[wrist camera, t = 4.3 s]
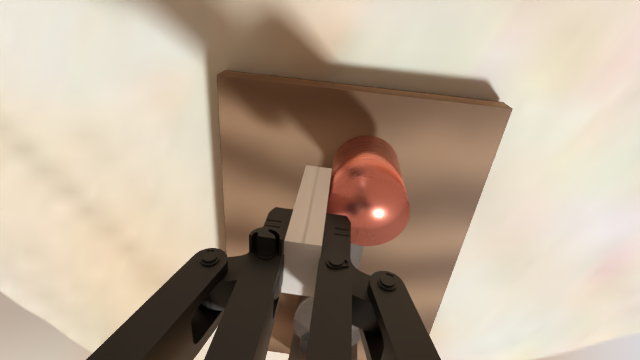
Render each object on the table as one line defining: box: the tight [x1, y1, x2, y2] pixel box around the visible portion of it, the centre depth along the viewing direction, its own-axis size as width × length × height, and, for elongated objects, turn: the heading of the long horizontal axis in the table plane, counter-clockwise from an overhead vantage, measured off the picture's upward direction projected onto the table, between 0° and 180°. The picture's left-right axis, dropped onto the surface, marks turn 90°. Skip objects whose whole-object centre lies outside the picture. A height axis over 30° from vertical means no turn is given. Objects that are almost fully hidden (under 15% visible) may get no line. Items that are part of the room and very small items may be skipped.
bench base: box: [217, 71, 512, 360], centre depth 24 cm, size 26×18×10 cm
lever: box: [294, 135, 410, 352], centre depth 23 cm, size 20×6×7 cm, turn 172°
